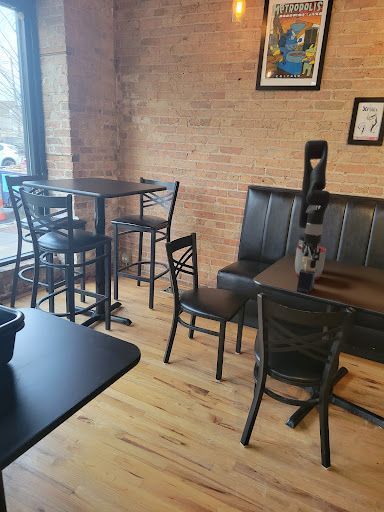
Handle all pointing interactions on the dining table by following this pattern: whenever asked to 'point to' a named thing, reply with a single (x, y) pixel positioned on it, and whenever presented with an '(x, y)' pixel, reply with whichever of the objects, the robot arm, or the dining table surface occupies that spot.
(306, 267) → the maple block
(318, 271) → the citrus juicer
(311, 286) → the small box
